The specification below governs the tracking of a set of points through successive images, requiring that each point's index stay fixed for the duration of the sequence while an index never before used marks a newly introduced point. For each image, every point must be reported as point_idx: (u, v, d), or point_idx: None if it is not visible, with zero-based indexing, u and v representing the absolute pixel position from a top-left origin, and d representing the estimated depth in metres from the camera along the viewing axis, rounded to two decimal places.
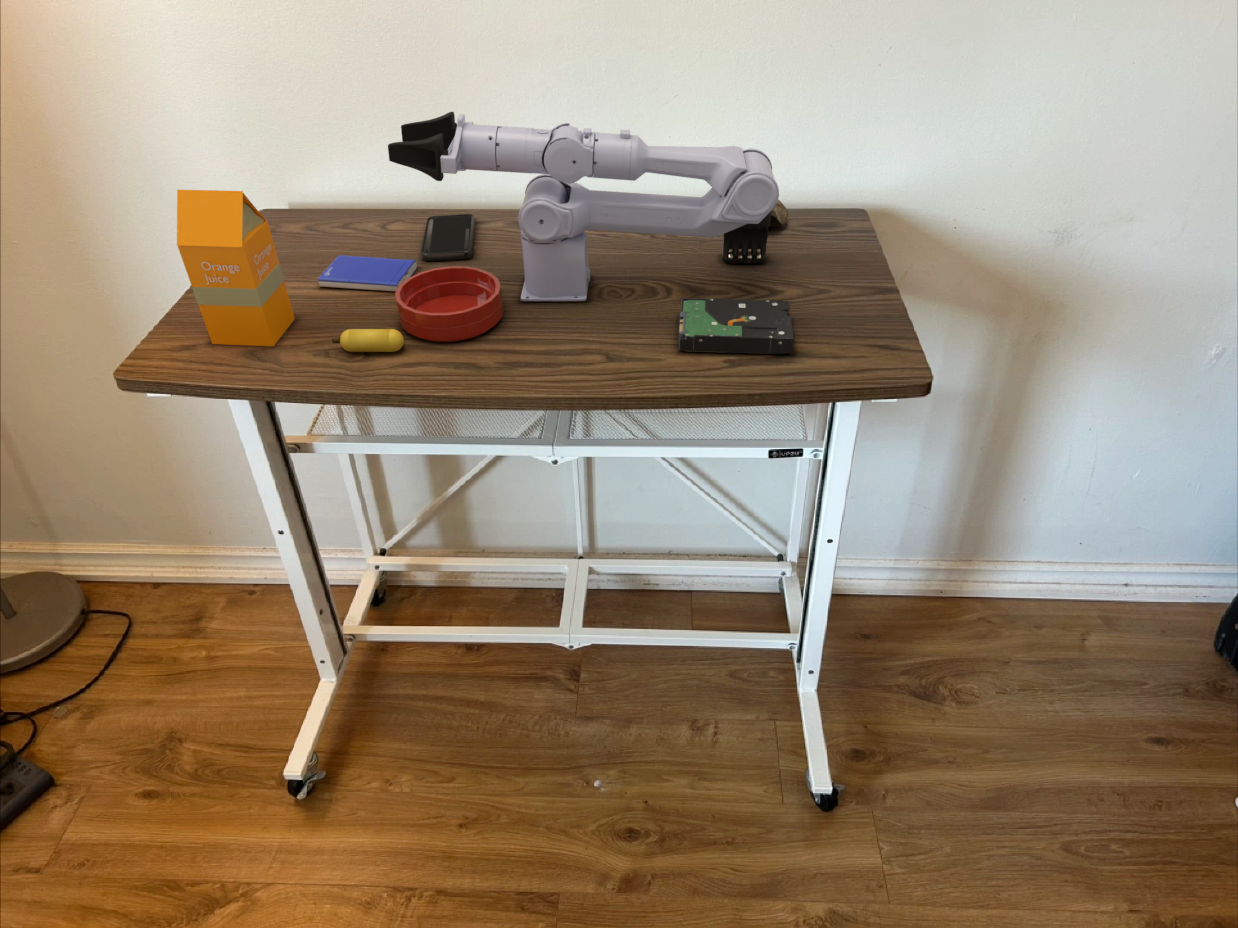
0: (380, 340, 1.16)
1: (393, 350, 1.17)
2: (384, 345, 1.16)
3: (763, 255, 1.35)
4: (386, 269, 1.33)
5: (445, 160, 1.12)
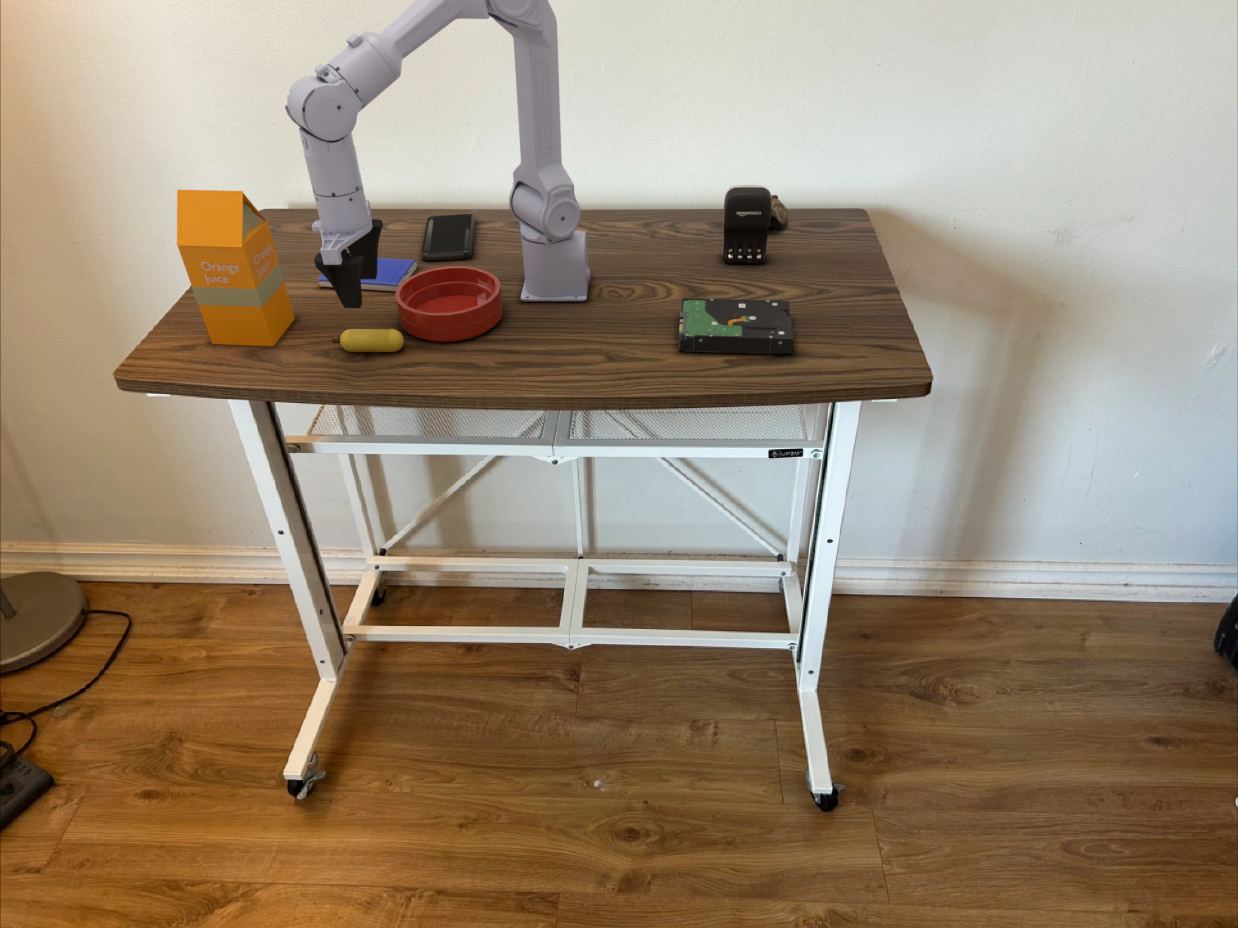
0: (380, 340, 1.16)
1: (393, 350, 1.17)
2: (384, 345, 1.16)
3: (763, 255, 1.35)
4: (386, 269, 1.33)
5: (325, 259, 1.02)
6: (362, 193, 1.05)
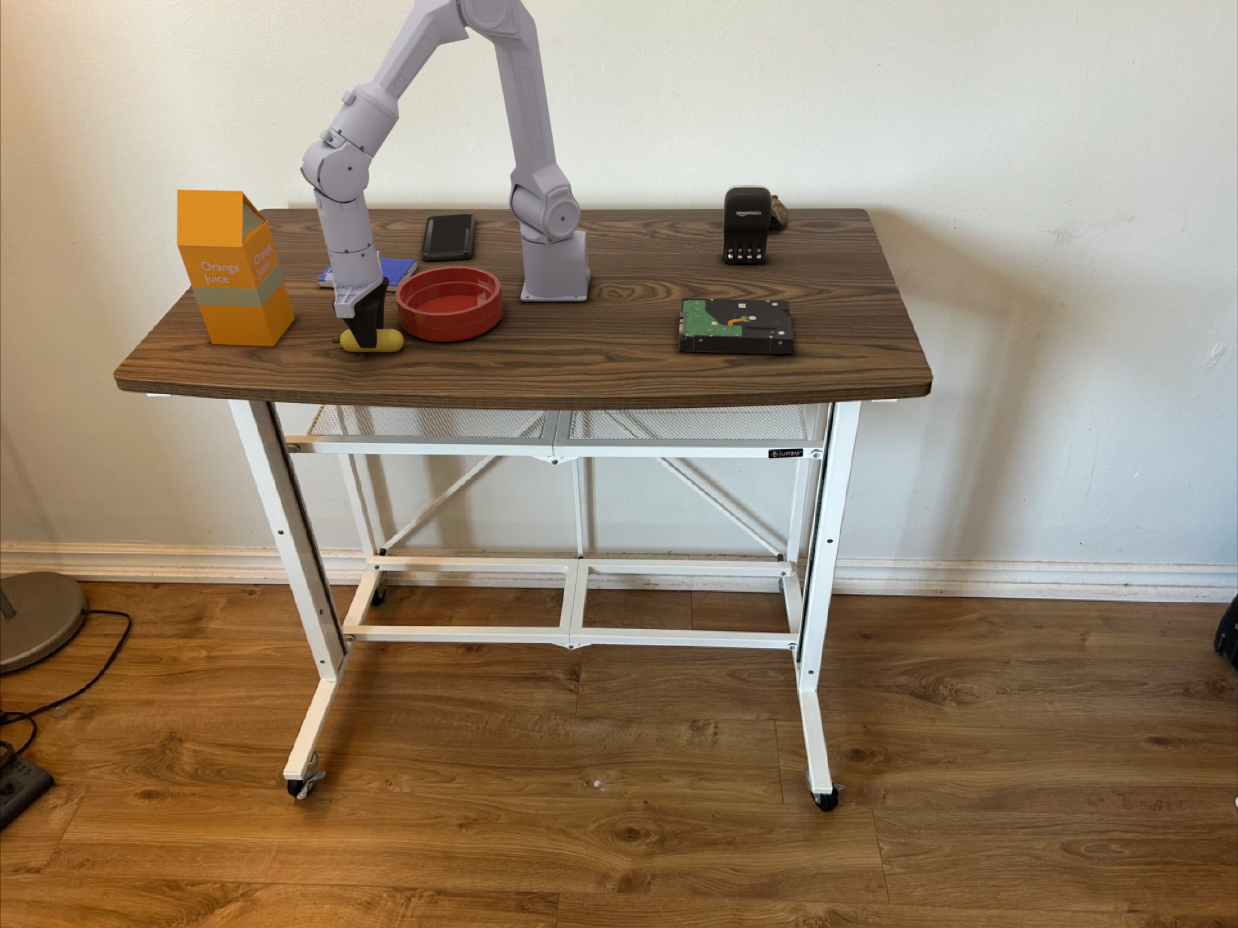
0: (380, 340, 1.16)
1: (393, 350, 1.17)
2: (384, 345, 1.16)
3: (763, 255, 1.35)
4: (386, 269, 1.33)
5: (338, 313, 1.07)
6: (373, 248, 1.09)
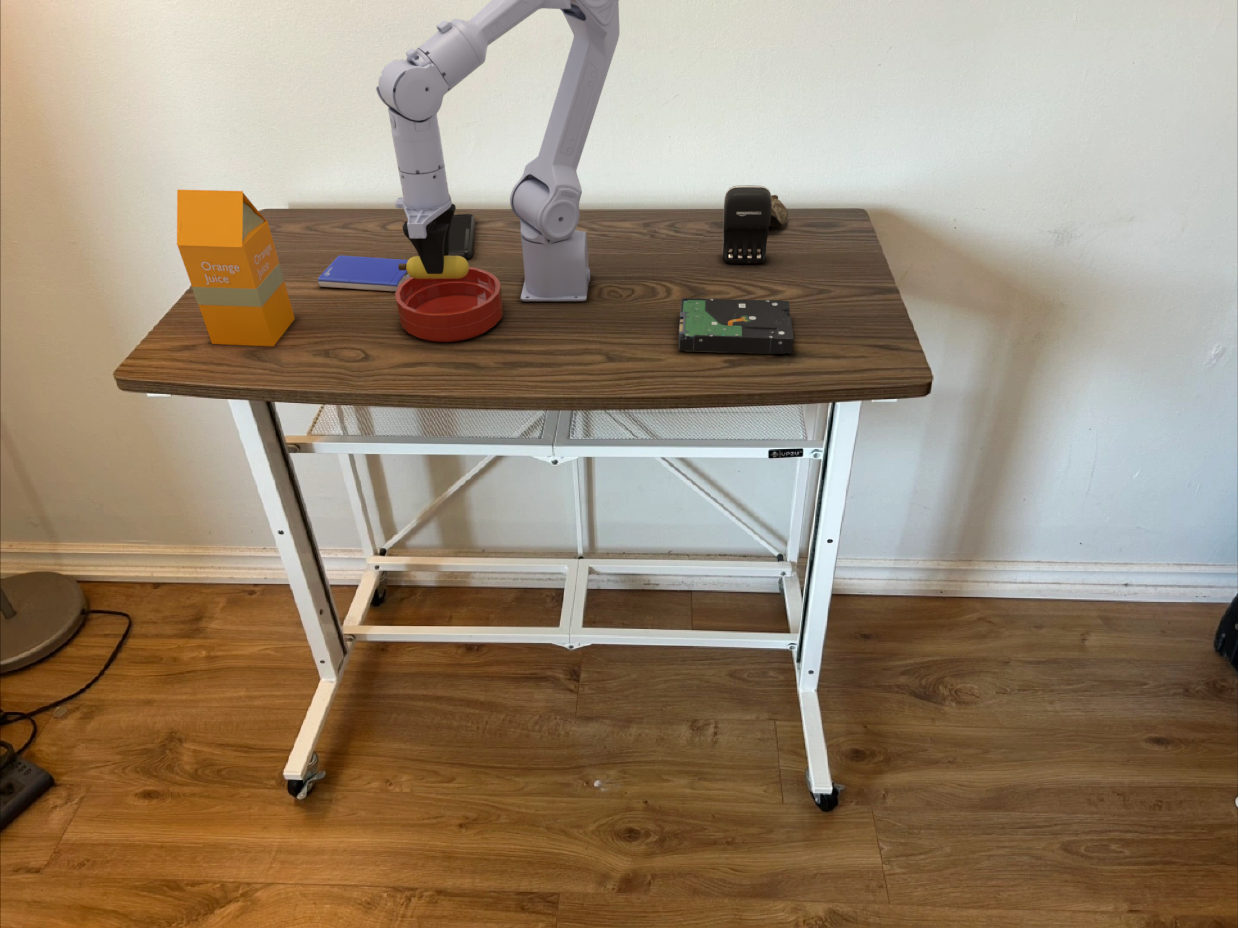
0: (447, 265, 1.17)
1: (459, 276, 1.18)
2: (450, 271, 1.18)
3: (763, 255, 1.35)
4: (386, 269, 1.33)
5: (411, 233, 1.08)
6: (444, 171, 1.10)
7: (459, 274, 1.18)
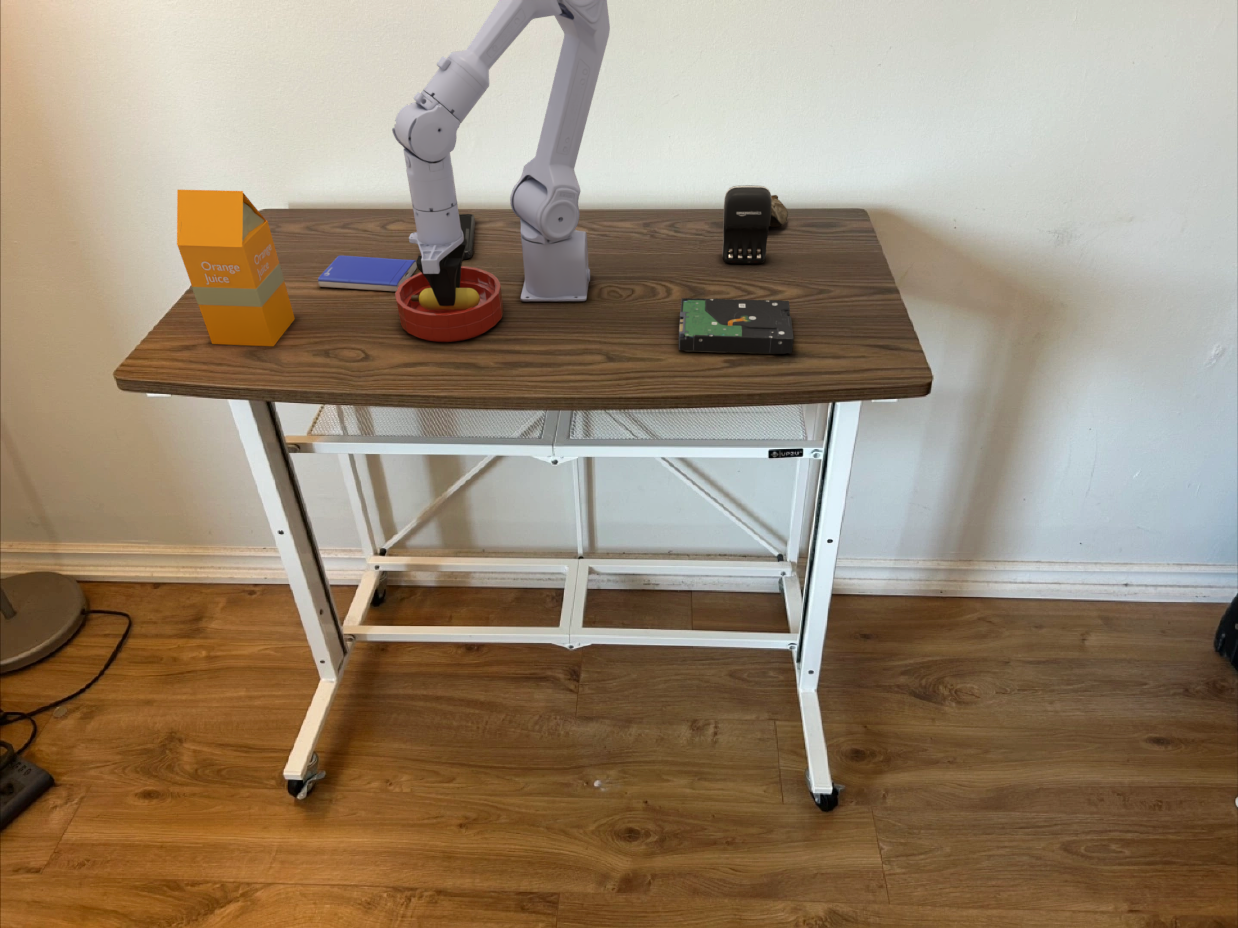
0: (458, 298, 1.21)
1: None
2: (462, 303, 1.21)
3: (763, 255, 1.35)
4: (386, 269, 1.33)
5: (425, 269, 1.12)
6: (457, 208, 1.14)
7: (470, 306, 1.22)
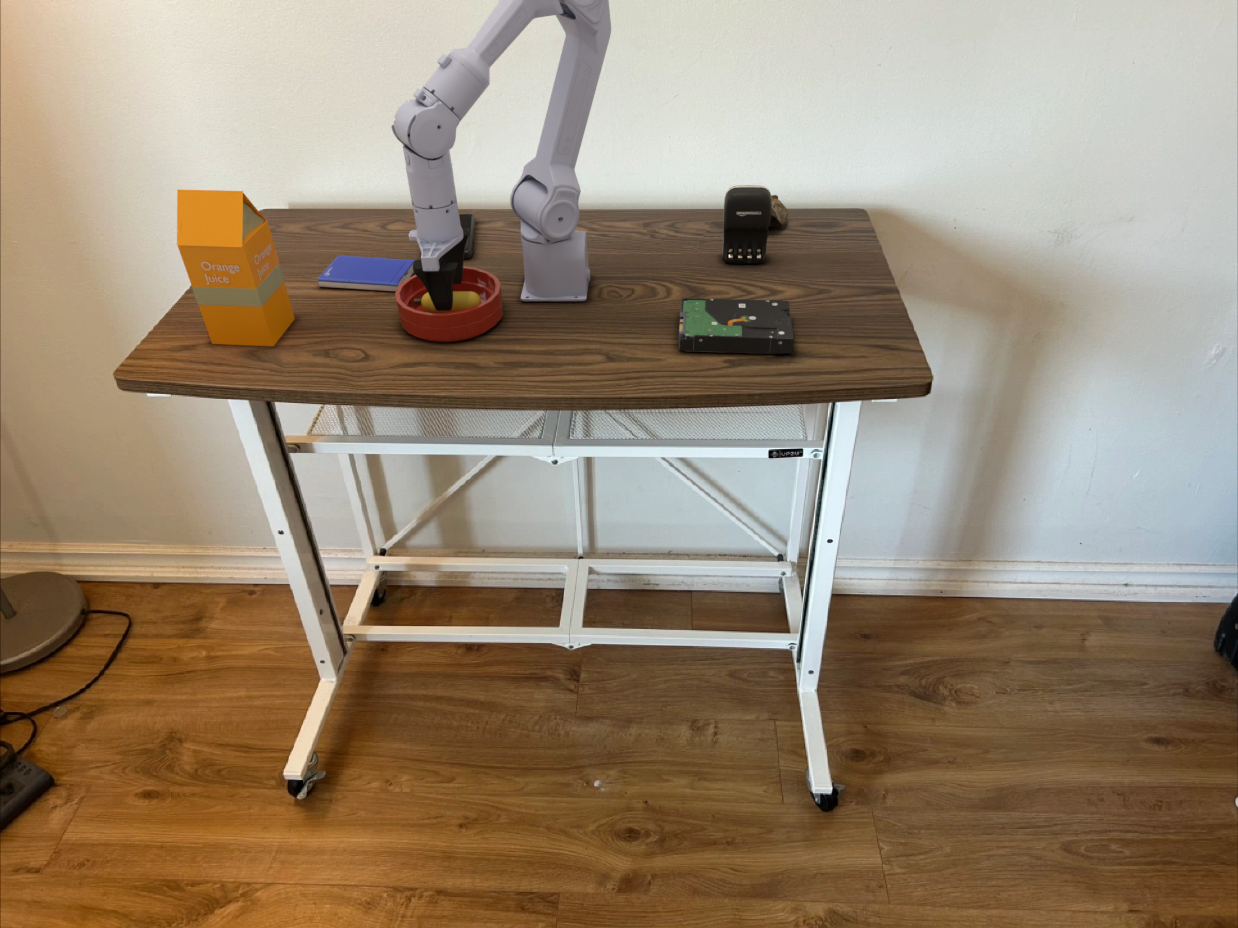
0: (460, 296, 1.22)
1: (471, 307, 1.23)
2: (463, 300, 1.22)
3: (763, 255, 1.35)
4: (386, 269, 1.33)
5: (424, 266, 1.12)
6: (456, 205, 1.14)
7: (471, 304, 1.22)
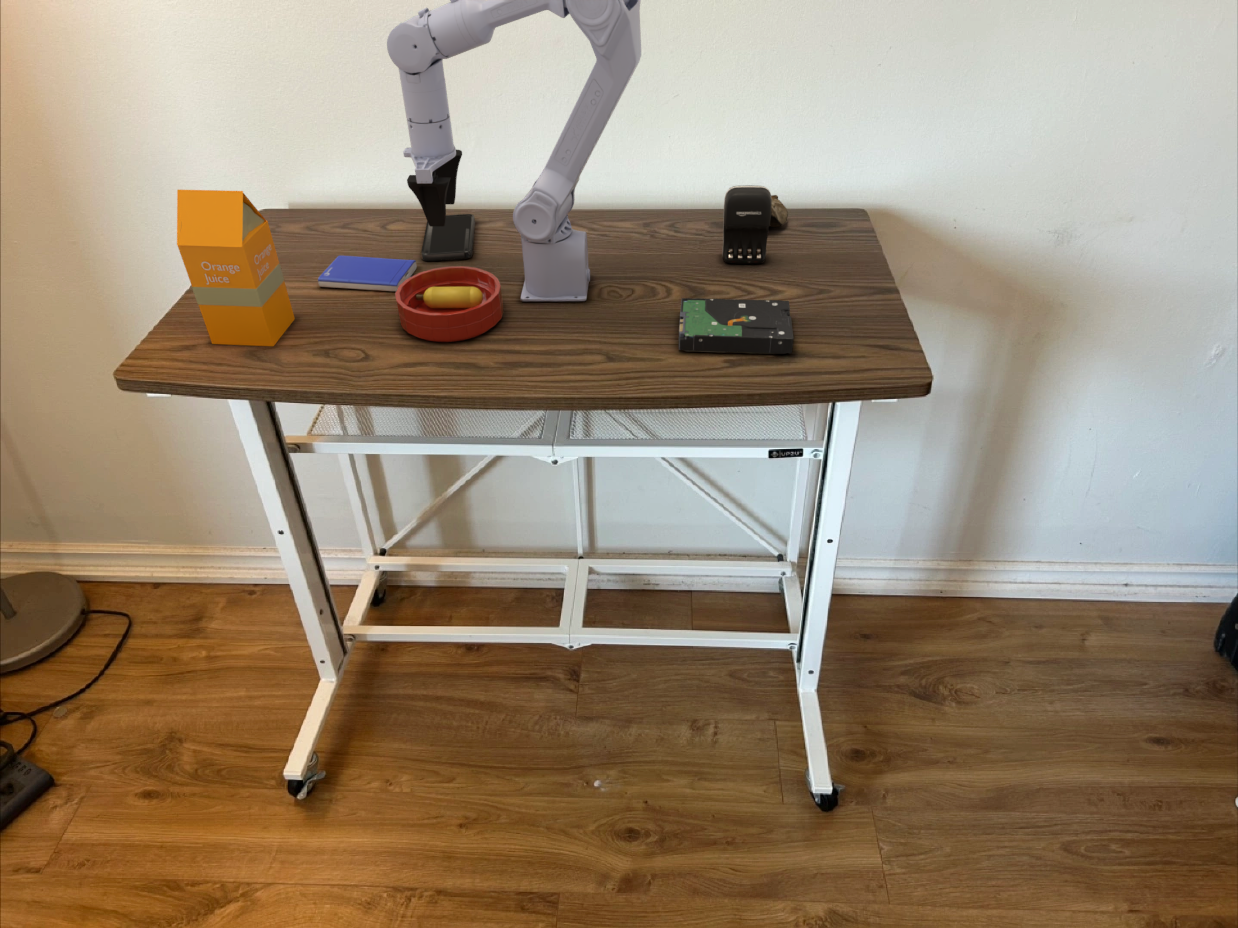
0: None
1: (472, 293, 1.23)
2: (466, 287, 1.24)
3: (763, 255, 1.35)
4: (386, 269, 1.33)
5: (418, 178, 1.16)
6: (449, 122, 1.19)
7: (473, 290, 1.24)
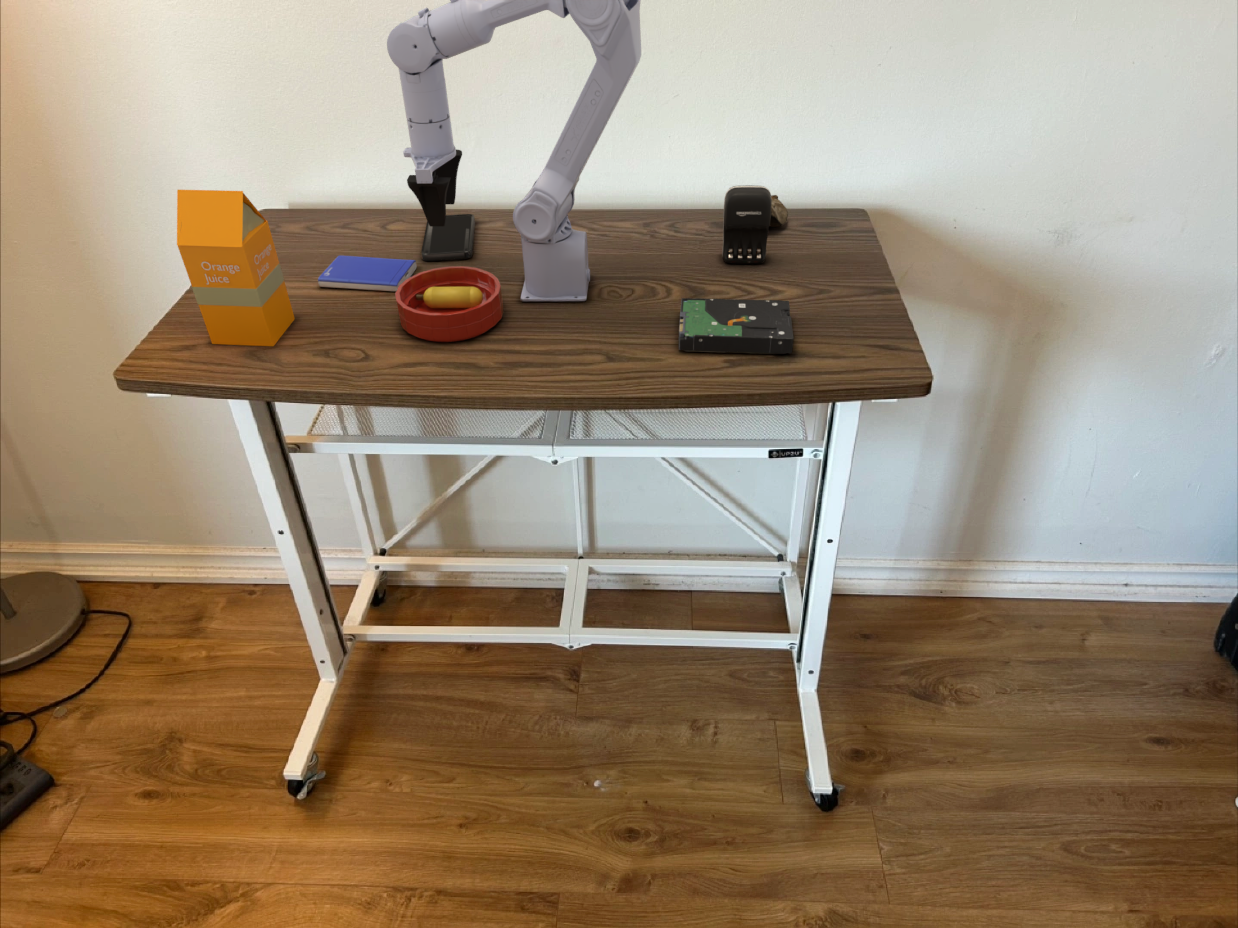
0: None
1: (472, 293, 1.23)
2: (466, 287, 1.24)
3: (763, 255, 1.35)
4: (386, 269, 1.33)
5: (418, 178, 1.16)
6: (449, 122, 1.19)
7: (473, 290, 1.24)
